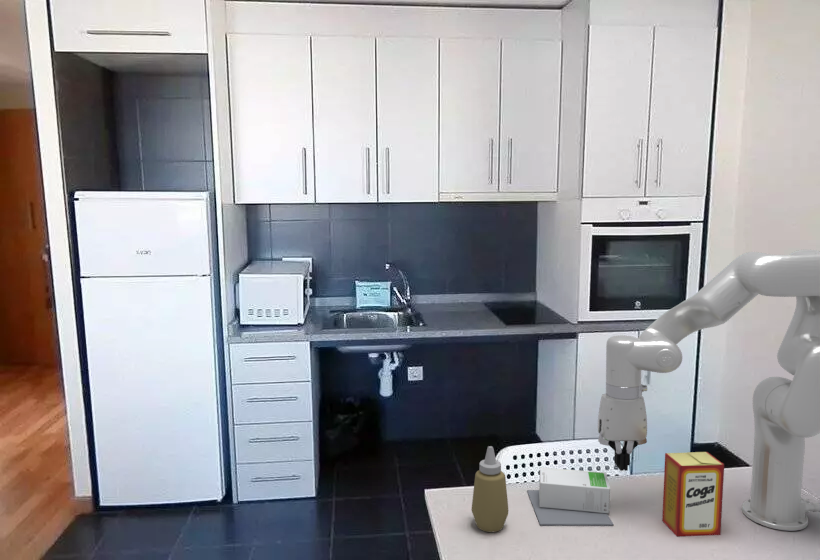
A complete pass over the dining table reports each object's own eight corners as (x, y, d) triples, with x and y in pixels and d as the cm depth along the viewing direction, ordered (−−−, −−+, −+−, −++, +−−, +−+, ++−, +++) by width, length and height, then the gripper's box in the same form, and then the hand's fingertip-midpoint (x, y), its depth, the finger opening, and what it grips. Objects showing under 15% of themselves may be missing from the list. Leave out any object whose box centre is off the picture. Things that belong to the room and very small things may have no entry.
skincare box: (611, 489, 133) (540, 482, 136) (609, 516, 134) (539, 509, 137) (606, 471, 141) (539, 465, 144) (604, 496, 142) (538, 490, 145)
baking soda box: (676, 536, 126) (680, 464, 124) (662, 520, 132) (665, 451, 130) (720, 535, 126) (724, 462, 124) (703, 519, 133) (707, 450, 131)
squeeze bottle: (512, 520, 132) (513, 443, 130) (502, 539, 125) (503, 457, 123) (478, 513, 136) (478, 437, 134) (466, 530, 128) (466, 451, 126)
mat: (592, 491, 146) (592, 489, 146) (613, 525, 130) (613, 524, 130) (527, 491, 146) (527, 489, 146) (540, 525, 130) (540, 524, 130)
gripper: (650, 385, 138) (648, 460, 140) (585, 386, 138) (584, 461, 140) (663, 395, 131) (661, 474, 133) (594, 396, 131) (594, 476, 133)
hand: (621, 468), depth 137 cm, fingers closed
